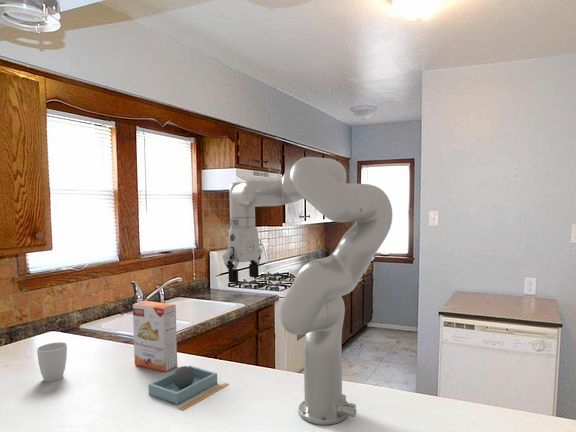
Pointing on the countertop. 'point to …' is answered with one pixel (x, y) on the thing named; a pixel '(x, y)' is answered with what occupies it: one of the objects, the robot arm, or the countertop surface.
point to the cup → (52, 360)
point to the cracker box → (155, 335)
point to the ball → (183, 377)
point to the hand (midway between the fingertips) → (244, 279)
